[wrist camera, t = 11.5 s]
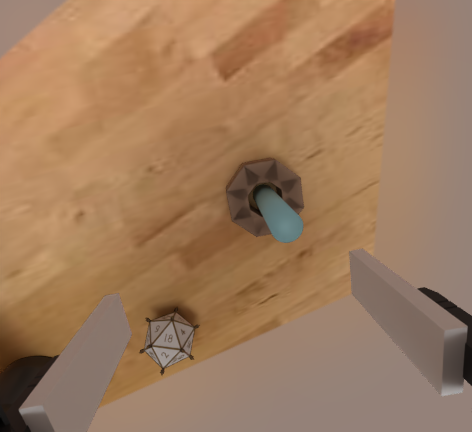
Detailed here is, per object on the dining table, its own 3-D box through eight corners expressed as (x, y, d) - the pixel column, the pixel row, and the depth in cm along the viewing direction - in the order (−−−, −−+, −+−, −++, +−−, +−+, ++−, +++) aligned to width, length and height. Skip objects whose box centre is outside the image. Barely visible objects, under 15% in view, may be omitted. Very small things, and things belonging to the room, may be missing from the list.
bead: (234, 231, 41) (235, 240, 37) (222, 166, 39) (221, 169, 35) (298, 219, 41) (306, 227, 37) (290, 153, 38) (297, 155, 35)
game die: (185, 301, 49) (215, 320, 41) (177, 350, 48) (206, 378, 40) (136, 302, 43) (159, 322, 35) (125, 356, 42) (147, 390, 34)
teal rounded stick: (254, 205, 40) (273, 245, 25) (251, 186, 40) (268, 215, 24) (274, 201, 40) (305, 239, 25) (271, 182, 39) (301, 208, 24)
